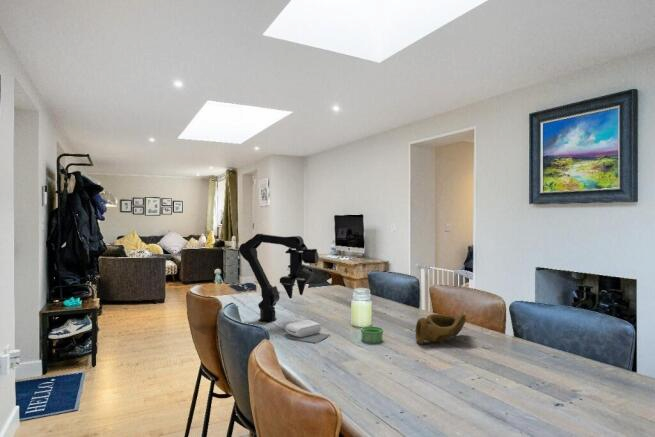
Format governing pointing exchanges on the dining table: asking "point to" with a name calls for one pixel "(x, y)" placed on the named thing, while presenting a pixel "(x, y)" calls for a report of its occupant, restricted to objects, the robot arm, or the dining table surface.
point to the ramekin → (372, 334)
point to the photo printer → (303, 328)
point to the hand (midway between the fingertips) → (295, 296)
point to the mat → (310, 337)
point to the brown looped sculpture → (438, 327)
